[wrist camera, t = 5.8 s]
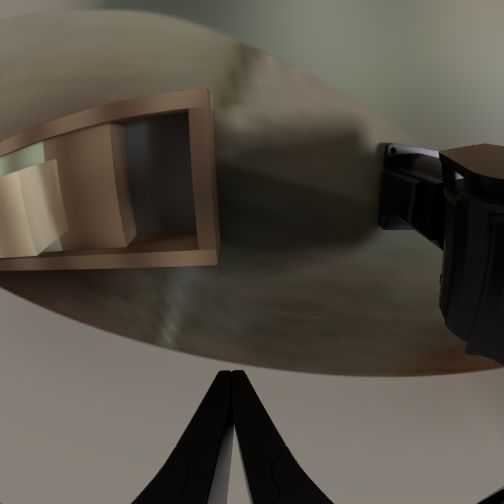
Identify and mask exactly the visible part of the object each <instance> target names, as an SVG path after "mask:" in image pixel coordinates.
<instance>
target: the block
mask: <svg viewBox="0 0 504 504" xmlns="http://www.w3.org/2000/svg"><path fill="white" fill-rule="evenodd" d="M68 230H69V229H68V225H67V220H66V216H65V211H64V206H63V201H62V195H61V190H60V183H59V177H58V170H57V162H56V159H54V160H50V161H47V162H43V163H40V164H37V165H33V166H30V167H27V168H24V169H21V170H18V171H15V172H12V173H9V174H7V175H4V176H1V177H0V258H7V257H23V256H37V255H38V254H39V253H41V252H42V251H43V250H44V249H45V248H47V247H48V246H49V245H50V244H52V243H53V242H54V241H55V240H57V239H58V238H59V237H60V236H62V235H63V234H64V233H66V232H67V231H68Z"/></svg>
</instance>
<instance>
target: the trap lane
mask: <svg viewBox="0 0 504 504" xmlns="http://www.w3.org/2000/svg"><path fill="white" fill-rule="evenodd" d="M54 159H56V162H57V170H58V177H59V183H60V190H61V195H62V201H63V206H64V211H65V216H66V220H67V225H68V229H69V230H68V231H67V232H66V233H64V234H63V235H62V236H60V237H59V238H58V239H57V240H55V241H54V242H53V243H52V244H50V245H49V246H48V247H47V248H45V249H44V250H43V251H42V252H41V253H39V254H38V255H37V256H23V257H7V258H0V271H12V270H71V269H112V268H146V267H176V266H203V265H218V257H219V249H220V229H219V214H218V198H217V180H216V160H215V138H214V110H213V95H212V94H211V93H210V91H209V90H208V89H207V88H206V89H195V90H186V91H177V92H170V93H163V94H156V95H150V96H144V97H139V98H134V99H129V100H124V101H120V102H115V103H111V104H107V105H103V106H99V107H95V108H91V109H88V110H84V111H81V112H77V113H74V114H71V115H68V116H65V117H62V118H59V119H56V120H53V121H50V122H47V123H45V124H42V125H39V126H37V127H34V128H32V129H29V130H27V131H24V132H22V133H20V134H17V135H15V136H13V137H11V138H8V139H6V140H4V141H2V142H0V177H1V176H4V175H7V174H9V173H12V172H15V171H18V170H21V169H24V168H27V167H30V166H33V165H37V164H40V163H43V162H47V161H50V160H54Z"/></svg>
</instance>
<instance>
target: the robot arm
mask: <svg viewBox="0 0 504 504" xmlns="http://www.w3.org/2000/svg"><path fill="white" fill-rule="evenodd" d="M391 148H393V150H394V151H393V153H391V151H390V150H391ZM379 205H380V212H379V219H378V225H379V227H381V228H382V229H383V230H415V231H417V232H418V233H420V234H421V235H422V236H424V237H425V238H427V239H428V240H429V241H431V242H432V243H433V244H435V245H436V246H437V247H439V248H440V249H441V250H442V251H443V263H442V274H441V275H440V285H441V287H440V297H439V307H440V309H441V312H442V314H443V317H444V319H445V325H446V327H447V328H448V329H449V330H450V331H451V332H452V333H453V334H454V335H456V336H457V337H459V338H460V339H462V340H464V341H466V342H467V345H466V348H465V353H466V354H470V355H481V356H484V357H487V358H490V359H493V360H495V361H497V362H498V363H500V364H502V365H503V366H504V146H498V145H492V144H478V145H472V146H465V147H460V148H454V149H448V150H442V151H434V150H428V149H423V148H417V147H412V146H405V145H399V144H392V143H390V144H387V145H386V147H385V157H384V170H383V172H382V178H381V189H380V199H379ZM384 221H386V224H385V225H383V223H384ZM234 424H235V431H236V436H237V442H238V447H239V452H240V457H241V462H242V466H243V472H244V477H245V481H246V486H247V490H248V495H249V499H250V503H251V504H334V503H333V502H332V501H331V500H330V499H329V498H328V497H327V496H326V495H325V494H324V493H323V492H322V491H321V490H320V489H319V488H318V487H317V485H316V484H315V483H314V482H313V481H312V480H311V479H310V478H309V477H308V475H307V474H306V473H305V472H304V471H303V469H302V468H301V467H300V466H299V464H298V463H297V461H296V460H295V458H294V457H293V455H292V454H291V452H290V450H289V449H288V447H287V446H286V444H285V443H284V441H283V439H282V437H281V436H280V434H279V432H278V431H277V429H276V427H275V425H274V424H273V422H272V420H271V419H270V417H269V415H268V413H267V412H266V410H265V408H264V406H263V405H262V403H261V401H260V399H259V397H258V395H257V394H256V392H255V390H254V388H253V386H252V385H251V383H250V381H249V379H248V377H247V375H246V374H245V372H244V371H243V370H234V371H232V372H231V371H229V370H223V371H219V372H218V373H217V375H216V377H215V379H214V381H213V382H212V384H211V386H210V388H209V390H208V391H207V393H206V395H205V397H204V398H203V400H202V402H201V404H200V405H199V407H198V409H197V411H196V412H195V414H194V416H193V417H192V419H191V421H190V423H189V424H188V426H187V428H186V429H185V431H184V433H183V434H182V436H181V438H180V440H179V441H178V443H177V445H176V447H175V448H174V449H173V451H172V453H171V454H170V456H169V458H168V459H167V461H166V462H165V464H164V465H163V467H162V468H161V469H160V470H159V472H158V473H157V474H156V476H155V477H154V478H153V480H152V481H151V482H150V483H149V484H148V485H147V486H146V487H145V489H144V490H143V491H142V492H141V493H140V494H139V495H138V497H137V498H136V499H135V500H134V501H133V502H132V503H131V504H226V503H227V494H228V485H229V475H230V466H231V456H232V447H233V437H234ZM0 504H1V503H0ZM476 504H504V486H503V487H501V488H500V489H498V490H497V491H495V492H493V493H492V494H490V495H488V496H487V497H485V498H484V499H482V500H481V501H479V502H478V503H476Z"/></svg>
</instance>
